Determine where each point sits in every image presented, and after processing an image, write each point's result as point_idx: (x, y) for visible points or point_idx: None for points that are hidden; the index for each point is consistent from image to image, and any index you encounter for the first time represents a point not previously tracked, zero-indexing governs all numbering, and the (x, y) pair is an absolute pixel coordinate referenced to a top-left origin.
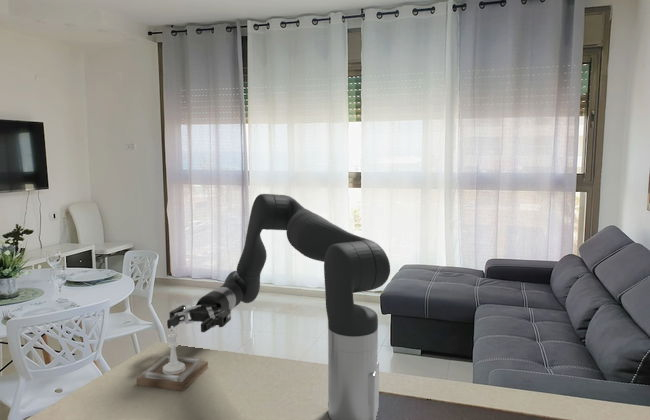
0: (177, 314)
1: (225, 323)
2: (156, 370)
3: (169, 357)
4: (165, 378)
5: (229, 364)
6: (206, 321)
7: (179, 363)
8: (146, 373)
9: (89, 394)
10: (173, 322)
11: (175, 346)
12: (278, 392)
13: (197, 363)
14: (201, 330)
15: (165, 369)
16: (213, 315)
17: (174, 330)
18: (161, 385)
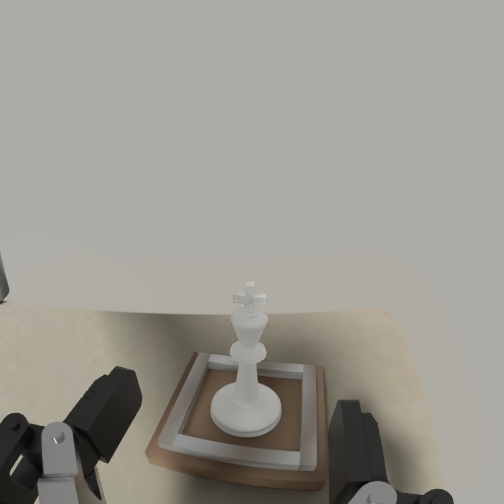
0: (364, 487)
1: (17, 472)
2: (297, 402)
3: (293, 452)
4: None
5: None
6: (100, 386)
7: (229, 405)
8: (303, 366)
9: (382, 344)
10: (336, 437)
11: (234, 343)
12: (23, 342)
13: (172, 417)
14: (138, 391)
15: (262, 385)
16: (49, 459)
17: (238, 294)
18: None
